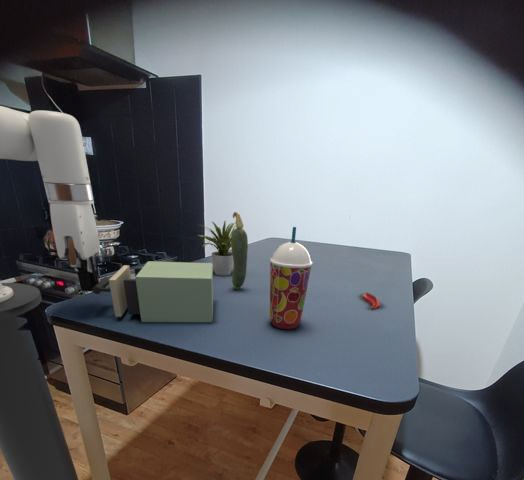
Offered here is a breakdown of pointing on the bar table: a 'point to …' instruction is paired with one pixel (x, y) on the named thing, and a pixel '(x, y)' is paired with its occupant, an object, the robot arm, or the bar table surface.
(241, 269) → the vegetable
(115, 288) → the drawer
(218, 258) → the house plant
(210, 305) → the pale green box
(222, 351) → the bar table surface
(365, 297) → the cayenne pepper
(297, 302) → the smoothie
